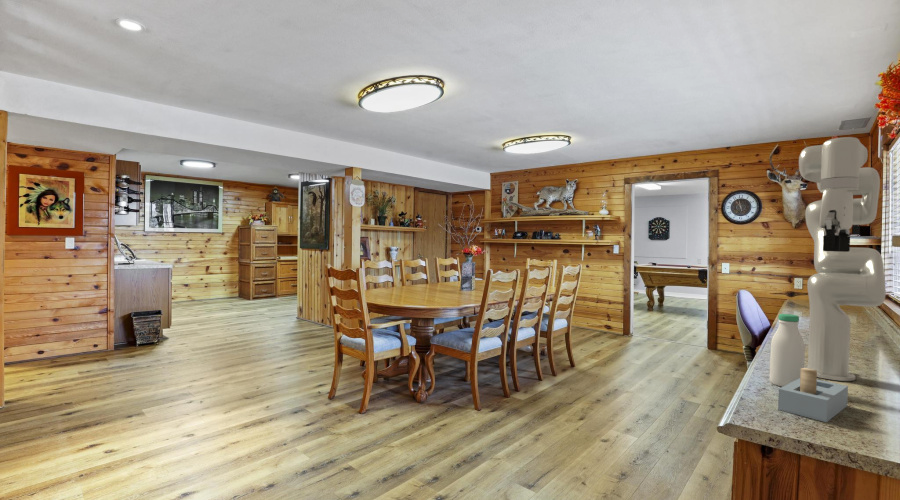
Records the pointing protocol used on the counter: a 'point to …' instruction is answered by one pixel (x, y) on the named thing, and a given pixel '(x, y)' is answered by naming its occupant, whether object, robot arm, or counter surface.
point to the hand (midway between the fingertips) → (836, 251)
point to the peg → (808, 381)
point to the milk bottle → (786, 351)
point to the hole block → (813, 400)
